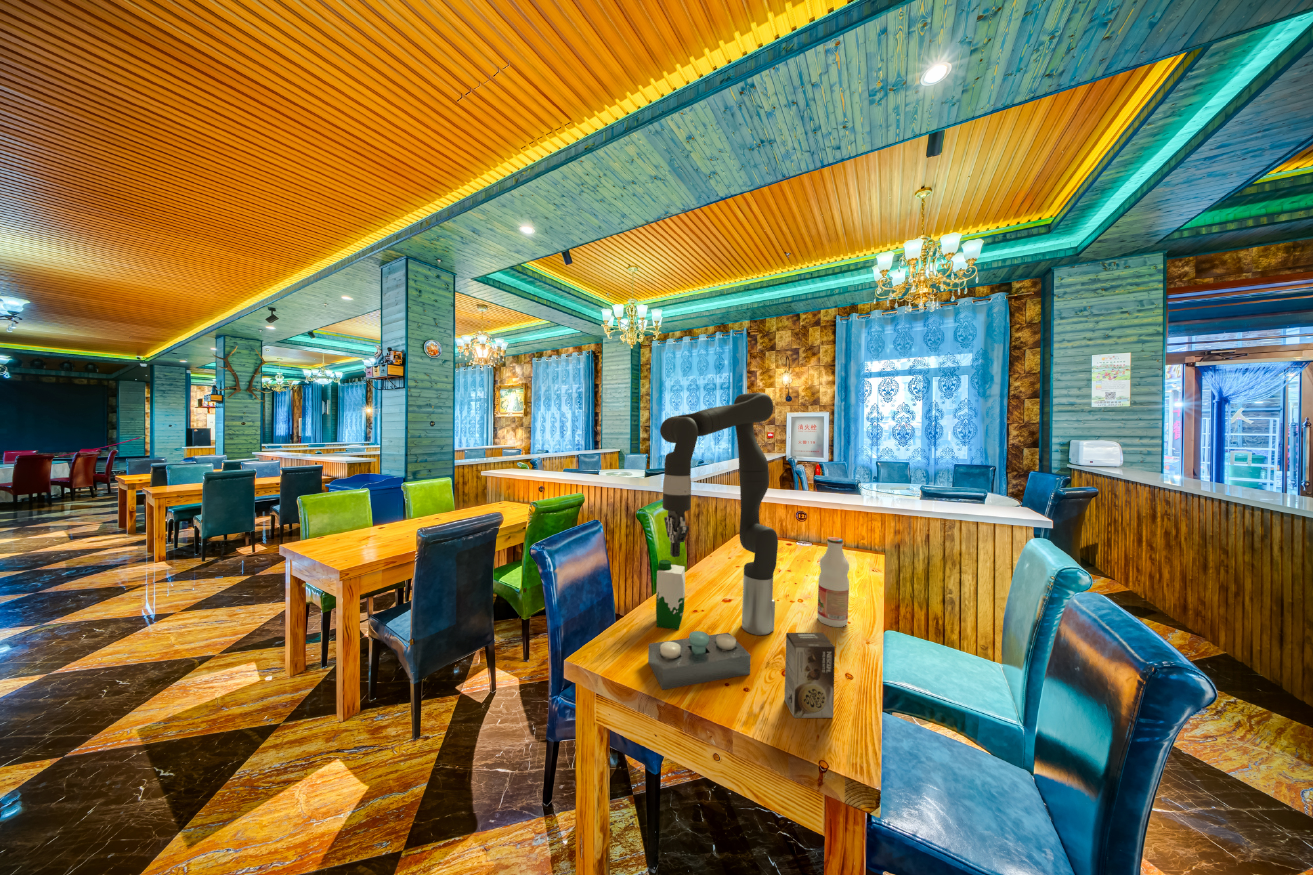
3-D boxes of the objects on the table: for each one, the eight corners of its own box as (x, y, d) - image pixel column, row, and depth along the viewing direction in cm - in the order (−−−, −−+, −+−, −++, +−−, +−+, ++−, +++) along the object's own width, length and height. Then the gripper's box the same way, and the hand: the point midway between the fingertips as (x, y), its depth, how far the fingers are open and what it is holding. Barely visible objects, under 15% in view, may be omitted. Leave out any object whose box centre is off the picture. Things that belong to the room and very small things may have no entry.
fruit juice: (839, 630, 129) (842, 544, 128) (811, 619, 136) (814, 537, 136) (852, 622, 135) (855, 539, 134) (825, 612, 142) (828, 533, 142)
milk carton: (658, 615, 135) (660, 556, 135) (685, 619, 134) (687, 559, 133) (653, 628, 127) (655, 565, 127) (681, 631, 125) (683, 568, 125)
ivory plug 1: (675, 662, 107) (676, 640, 107) (682, 674, 102) (683, 650, 102) (657, 665, 105) (657, 643, 105) (663, 677, 100) (664, 653, 100)
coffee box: (821, 699, 95) (823, 631, 95) (834, 718, 89) (836, 646, 88) (783, 699, 95) (785, 631, 95) (793, 718, 88) (795, 646, 88)
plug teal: (703, 651, 109) (703, 630, 109) (711, 662, 104) (712, 639, 104) (685, 654, 108) (686, 632, 108) (693, 665, 103) (693, 642, 103)
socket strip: (727, 649, 116) (728, 632, 115) (749, 674, 104) (750, 655, 104) (648, 662, 108) (648, 643, 108) (662, 689, 97) (663, 669, 97)
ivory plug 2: (729, 654, 112) (730, 632, 112) (738, 664, 107) (739, 642, 107) (712, 656, 110) (713, 635, 110) (721, 667, 105) (721, 645, 105)
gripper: (700, 495, 102) (697, 563, 102) (681, 487, 115) (679, 548, 115) (672, 496, 100) (670, 565, 100) (656, 488, 112) (654, 549, 113)
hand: (674, 555), depth 108 cm, fingers closed
